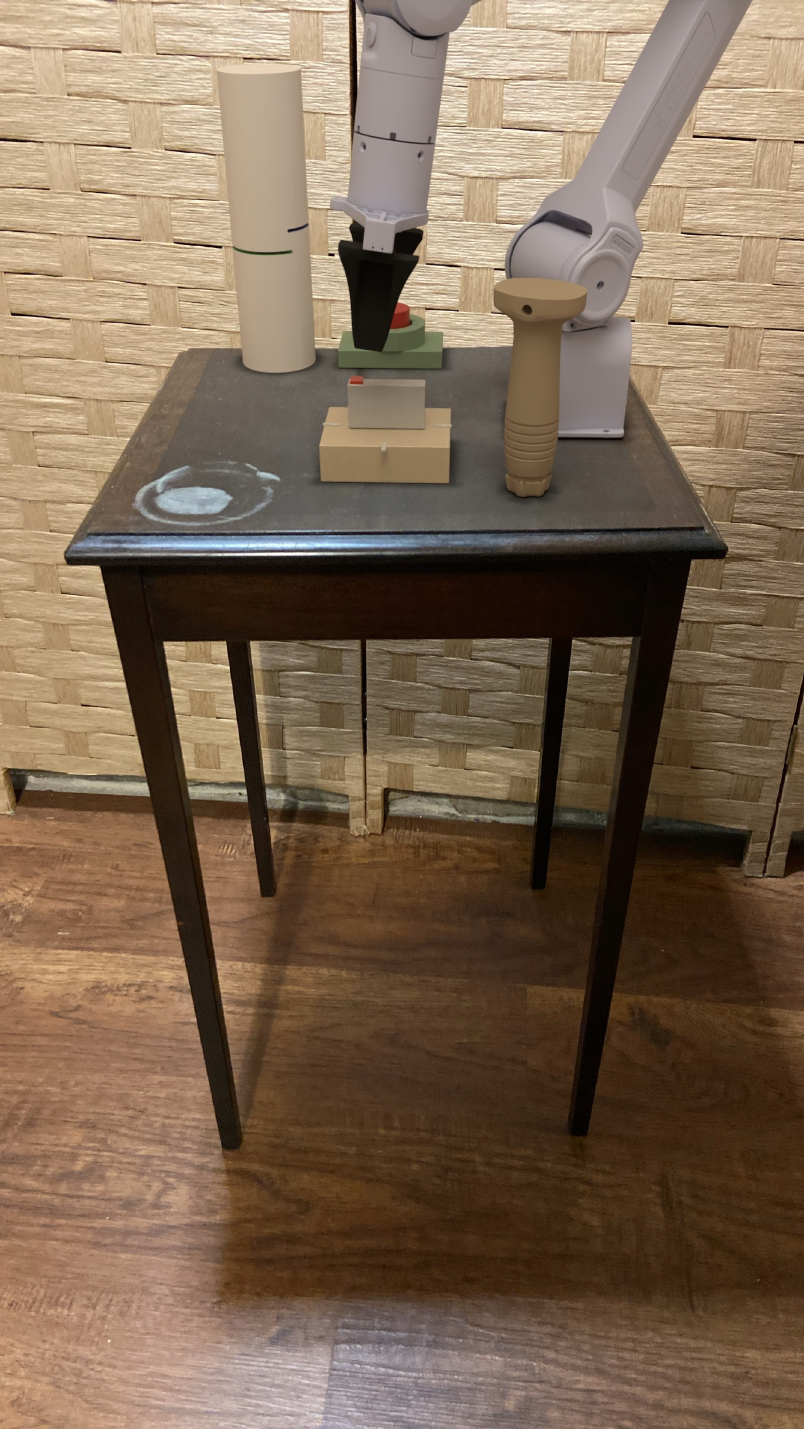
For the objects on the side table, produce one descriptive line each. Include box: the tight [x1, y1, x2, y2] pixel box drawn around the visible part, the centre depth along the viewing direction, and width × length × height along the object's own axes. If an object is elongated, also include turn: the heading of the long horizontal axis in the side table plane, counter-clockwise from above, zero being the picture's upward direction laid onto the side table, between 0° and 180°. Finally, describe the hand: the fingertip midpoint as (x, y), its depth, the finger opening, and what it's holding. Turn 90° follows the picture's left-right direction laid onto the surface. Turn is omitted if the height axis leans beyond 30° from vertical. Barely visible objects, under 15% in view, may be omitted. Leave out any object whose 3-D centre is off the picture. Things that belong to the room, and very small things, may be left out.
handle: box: [492, 278, 587, 498], centre depth 82 cm, size 5×6×15 cm
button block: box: [337, 313, 444, 370], centre depth 110 cm, size 10×6×4 cm, turn 87°
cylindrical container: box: [216, 63, 317, 374], centre depth 103 cm, size 7×7×25 cm
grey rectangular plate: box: [346, 375, 427, 429], centre depth 88 cm, size 6×1×4 cm, turn 87°
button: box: [390, 302, 411, 329], centre depth 109 cm, size 4×4×2 cm
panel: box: [318, 406, 453, 484], centre depth 90 cm, size 10×10×3 cm
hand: (371, 336), depth 85 cm, fingers open, 7 cm apart
